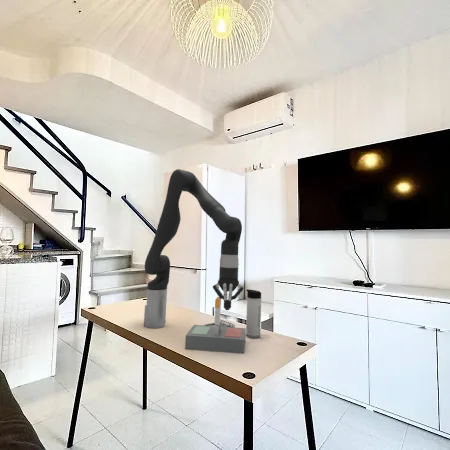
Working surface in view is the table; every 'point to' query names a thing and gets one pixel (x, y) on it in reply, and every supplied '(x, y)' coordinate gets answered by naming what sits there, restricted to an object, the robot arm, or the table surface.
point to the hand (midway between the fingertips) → (227, 309)
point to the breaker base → (216, 338)
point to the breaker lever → (217, 311)
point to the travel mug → (253, 314)
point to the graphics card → (222, 324)
